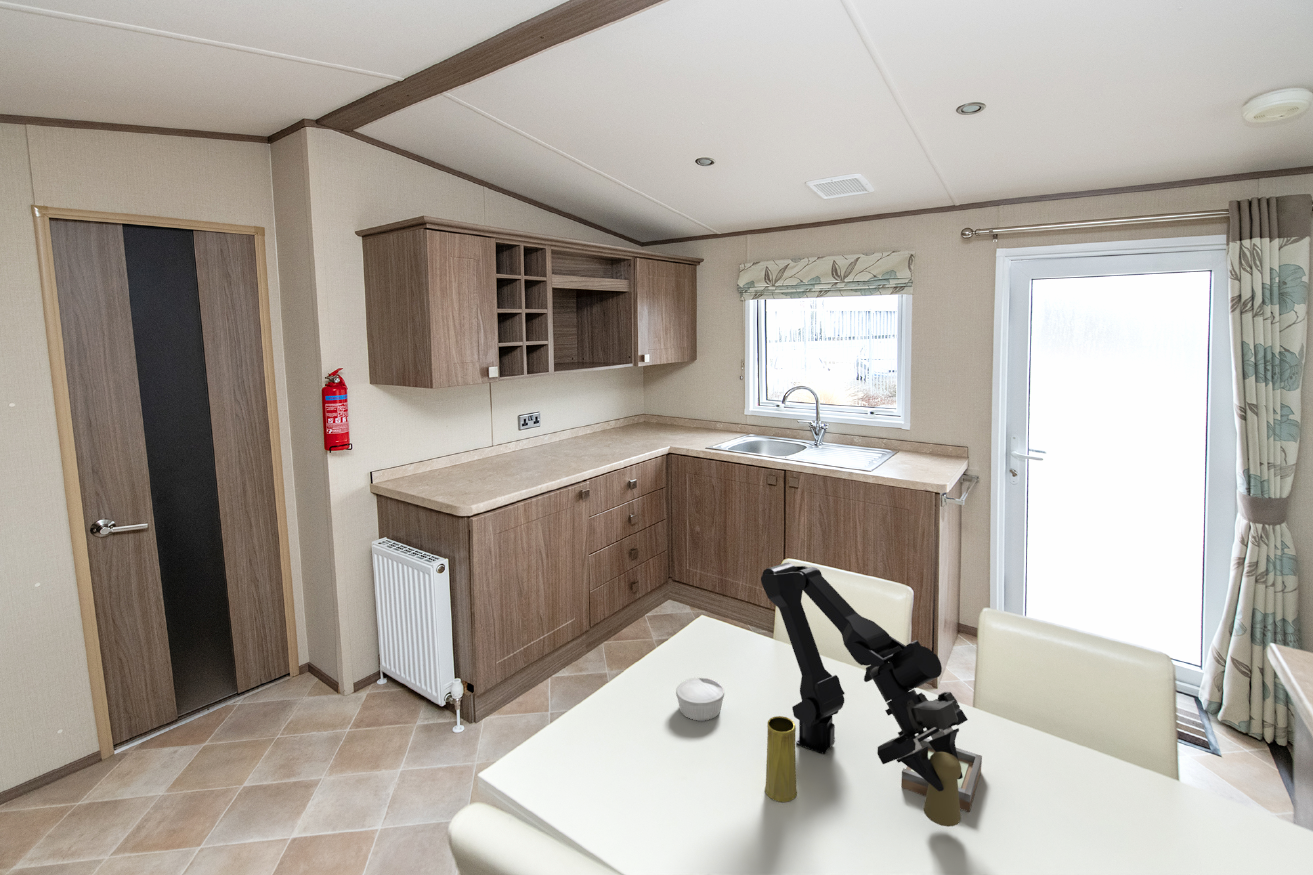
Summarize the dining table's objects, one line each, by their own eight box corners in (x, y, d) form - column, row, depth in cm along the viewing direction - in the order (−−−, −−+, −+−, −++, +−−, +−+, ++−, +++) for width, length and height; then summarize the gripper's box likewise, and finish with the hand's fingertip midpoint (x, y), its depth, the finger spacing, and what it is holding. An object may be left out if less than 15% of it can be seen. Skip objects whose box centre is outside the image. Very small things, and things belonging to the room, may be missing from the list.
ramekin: (732, 705, 154) (732, 684, 153) (710, 730, 145) (710, 708, 144) (691, 692, 160) (691, 672, 159) (667, 715, 150) (667, 694, 150)
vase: (778, 807, 121) (778, 737, 118) (758, 787, 126) (758, 720, 124) (803, 795, 123) (804, 727, 121) (783, 776, 129) (783, 710, 126)
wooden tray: (901, 787, 125) (901, 770, 124) (917, 750, 135) (918, 735, 135) (969, 812, 118) (970, 795, 118) (981, 771, 129) (982, 755, 128)
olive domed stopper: (953, 801, 117) (957, 746, 115) (966, 827, 111) (970, 770, 109) (919, 800, 117) (922, 745, 115) (929, 825, 111) (932, 768, 109)
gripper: (894, 698, 108) (950, 797, 101) (961, 665, 118) (1016, 753, 111) (855, 717, 116) (905, 810, 109) (921, 685, 126) (970, 768, 119)
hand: (951, 784), depth 112 cm, fingers closed on olive domed stopper, 5 cm apart
